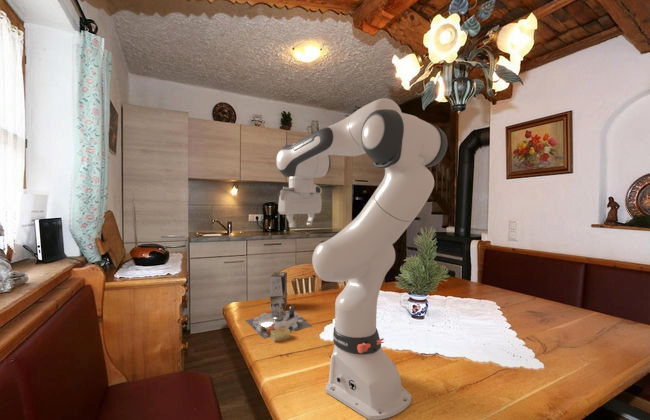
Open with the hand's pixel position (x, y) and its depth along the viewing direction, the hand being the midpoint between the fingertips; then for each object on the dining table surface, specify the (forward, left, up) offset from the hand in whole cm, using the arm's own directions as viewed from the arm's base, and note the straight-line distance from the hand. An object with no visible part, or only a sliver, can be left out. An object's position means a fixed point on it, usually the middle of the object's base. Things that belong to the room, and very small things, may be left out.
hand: (300, 226), depth 109 cm
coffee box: (+30, -5, -40) cm, 50 cm away
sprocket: (+13, +3, -39) cm, 41 cm away
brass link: (0, +8, -40) cm, 41 cm away
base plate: (+13, +3, -40) cm, 42 cm away
